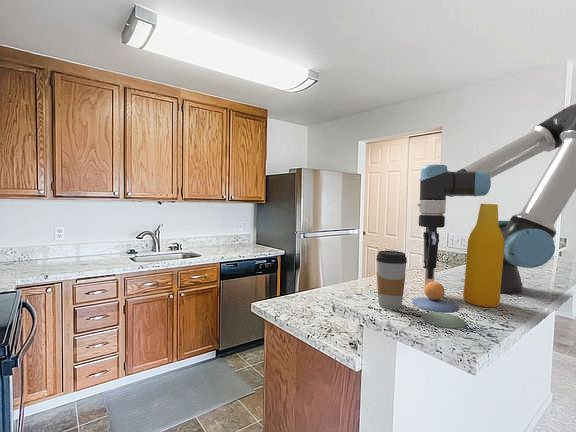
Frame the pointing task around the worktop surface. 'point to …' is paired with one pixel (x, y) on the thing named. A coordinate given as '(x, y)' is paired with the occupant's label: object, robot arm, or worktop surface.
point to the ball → (434, 291)
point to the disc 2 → (443, 320)
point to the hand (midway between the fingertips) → (428, 287)
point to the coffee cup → (390, 278)
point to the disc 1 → (435, 305)
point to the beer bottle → (484, 259)
